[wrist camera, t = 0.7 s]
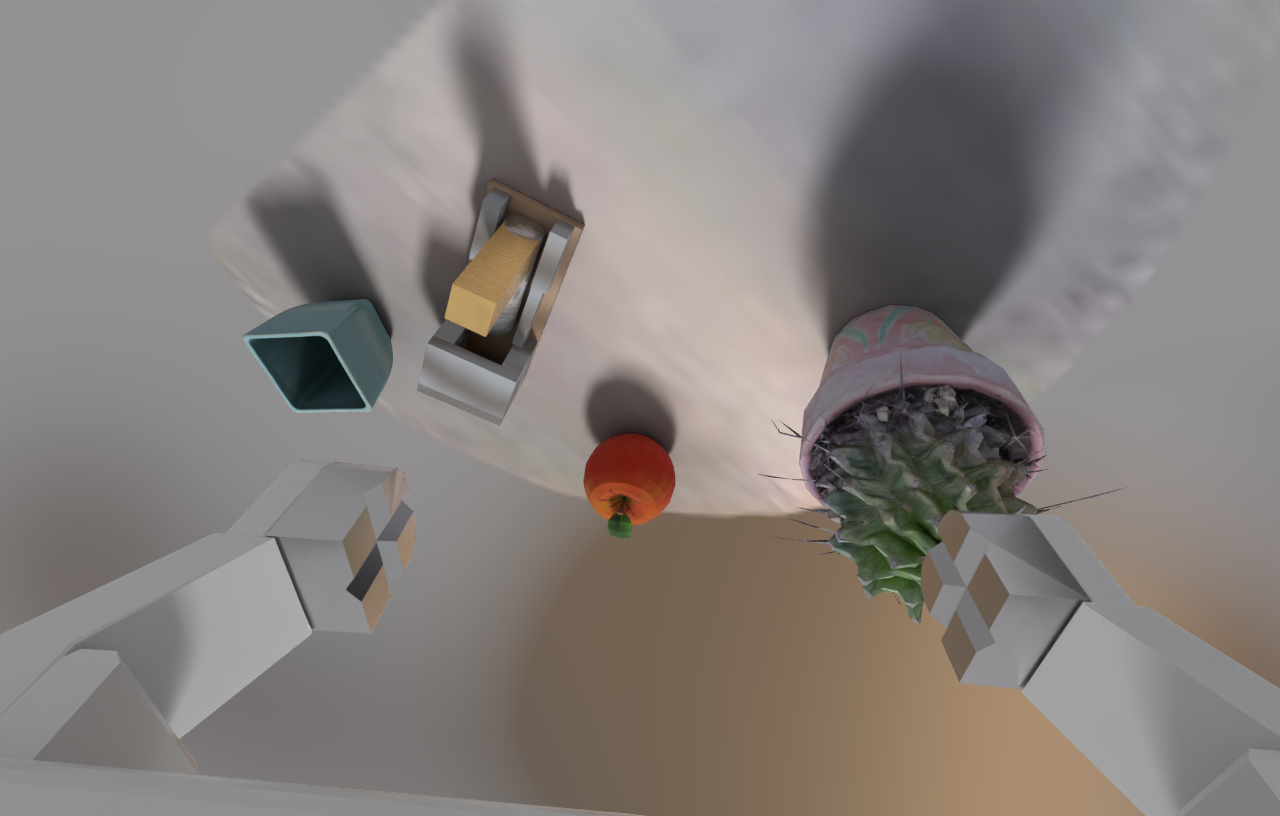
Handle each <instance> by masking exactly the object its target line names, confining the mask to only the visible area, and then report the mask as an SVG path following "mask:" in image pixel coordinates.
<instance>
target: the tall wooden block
mask: <svg viewBox="0 0 1280 816" xmlns="http://www.w3.org/2000/svg"><path fill="white" fill-rule="evenodd" d="M543 238H544V231H543V229H542V227H541V226H540V225H539V224H537V223H536V222H535V221H533V220H531V219H529V218H526V217H523V216H518V215H512V216H508V217H506V218H505V219H504V222H503V224H502V225H501V226H500V227H499V228H498V230H497V231H496V232H495V233H494V234H493V236H492V237H491V238H490V239H489V240H488V242H487V243H486V244H485V245H484V246H483V248H482V249H481V250H480V251H479V252H478V254H477V255H476V256H475V257H474V258H473V260H472V261H471V262H470V263H469V265H468V266H467V267H466V268H465V269H464V271H463V272H462V273H461V274H460V275H459V277H458V278H457V279H456V280H455V281H454V283H453V284H452V288H451V292H450V296H449V301H448V305H447V309H446V313H445V317H444V318H445V319H447V320H449V321H451V322H454V323H456V324H458V325H460V326H462V327H465V328H467V329H469V330H471V331H474V332H476V333H478V334H480V335H482V336H485V337H486V336H487V335H488V333H490V334H493V335H506V334H508V333H509V332H511V330H512V327H513V325H514V322H515V319H516V316H517V313H518V310H519V307H520V304H521V301H522V298H523V296H524V293H525V290H526V287H527V284H528V281H529V278H530V275H531V272H532V270H533V267H534V264H535V261H536V258H537V255H538V252H539V249H540V246H541V243H542V241H543Z"/></svg>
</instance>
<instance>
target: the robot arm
mask: <svg viewBox="0 0 1280 816" xmlns="http://www.w3.org/2000/svg"><path fill="white" fill-rule="evenodd" d="M407 491H408V485H407V482H406V478H405V475H404V472H403V471H401V470H399V469H398V468H392V467H382V466H372V465H362V464H352V463H342V462H326V461H315V460H305V459H301V460H298V461H296V462H293V463H291V464H290V465H289V466H288V467H287V468H286V469H285V470H284V471H283V473H282V474H281V475H280V476H279V477H278V478H277V479H276V480H275V481H274V482H273V483H272V484H271V485H270V486H269V487H268V489H267V490H266V491H265V492H264V493H263V494H262V495H261V496H260V497H259V498H258V499H257V500H256V501H255V502H254V503H253V505H252V506H251V507H250V508H249V509H248V510H247V511H246V512H245V513H244V514H243V515H242V516H241V517H240V518H239V520H238V521H237V522H236V523H235V524H234V525H233V526H232V527H231V528H230V529H229V530H228V531H227V532H226V533H225V534H219V533H214V534H212V535H209V536H207V537H205V538H203V539H201V540H198V541H196V542H194V543H192V544H190V545H188V546H186V547H184V548H182V549H180V550H177V551H175V552H173V553H171V554H169V555H167V556H165V557H163V558H161V559H158V560H156V561H154V562H152V563H150V564H148V565H146V566H144V567H142V568H140V569H137V570H135V571H133V572H131V573H129V574H127V575H125V576H123V577H121V578H118V579H116V580H114V581H112V582H110V583H108V584H106V585H104V586H101V587H99V588H97V589H95V590H93V591H91V592H89V593H87V594H85V595H83V596H81V597H78V598H77V599H74V600H72V601H70V602H68V603H66V604H64V605H62V606H59V607H57V608H55V609H53V610H51V611H49V612H47V613H45V614H42V615H40V616H38V617H36V618H34V619H32V620H30V621H28V622H26V623H23V624H22V625H19V626H17V627H15V628H13V629H11V630H9V631H7V632H5V633H3V634H1V635H0V816H645V815H634V814H623V813H611V812H601V811H589V810H579V809H568V808H557V807H546V806H535V805H523V804H512V803H502V802H491V801H479V800H469V799H458V798H445V797H436V796H425V795H413V794H402V793H391V792H381V791H369V790H358V789H347V788H336V787H325V786H314V785H303V784H292V783H281V782H270V781H259V780H248V779H237V778H226V777H215V776H204V775H199V774H198V769H197V764H196V763H195V761H194V760H193V758H192V757H191V756H190V754H189V753H188V751H187V750H186V748H185V747H184V746H183V744H182V743H181V741H180V740H179V739H180V738H181V737H182V736H184V735H185V734H186V733H187V732H188V731H190V730H191V729H192V728H194V727H195V726H196V725H197V724H199V723H200V722H201V721H202V720H204V719H205V718H206V717H207V716H209V715H210V714H211V713H213V712H214V711H215V710H216V709H217V708H219V707H220V706H221V705H223V704H224V703H225V702H226V701H228V700H229V699H230V698H231V697H233V696H234V695H235V694H236V693H238V692H239V691H240V690H241V689H243V688H244V687H245V686H246V685H248V684H249V683H250V682H251V681H253V680H254V679H255V678H256V677H258V676H259V675H260V674H262V673H263V672H264V671H265V670H267V669H268V668H269V667H270V666H272V665H273V664H274V663H275V662H277V661H278V660H279V659H280V658H282V657H283V656H284V655H285V654H287V653H288V652H289V651H291V650H292V649H293V648H294V647H295V646H297V645H298V644H299V643H301V642H302V641H303V640H304V639H306V638H307V637H308V636H309V635H310V634H312V631H311V630H322V631H340V632H358V633H372V631H373V629H374V627H375V625H376V623H377V621H378V619H379V617H380V615H381V614H382V612H383V610H384V608H385V606H386V604H387V602H388V601H389V598H390V597H391V593H390V589H389V585H388V582H389V581H390V580H392V579H393V578H395V577H397V576H398V575H399V574H401V573H403V572H404V570H405V568H406V566H407V564H408V562H409V560H410V558H411V555H412V551H413V547H414V543H415V539H416V523H415V517H414V513H413V511H412V510H411V509H410V508H409V507H408V506H407V505H406V504H405V503H404V502H403V501H402V499H403V497H404V496H405V494H406V493H407ZM937 530H938V532H939V534H940V536H941V538H942V540H943V541H942V542H941V543H939V544H938V545H936V546H935V547H933V548H932V549H930V550H929V551H928V552H927V554H926V557H925V559H924V562H923V565H922V567H921V589H922V594H923V599H924V602H925V604H926V606H927V609H928V611H929V614H930V615H931V616H933V617H934V618H935V619H936V620H937V621H938V622H940V623H941V624H942V625H943V626H945V627H946V629H945V632H944V634H943V637H942V639H941V642H942V644H943V646H944V648H945V650H946V653H947V655H948V657H949V660H950V662H951V664H952V666H953V669H954V671H955V673H956V676H957V678H958V680H959V682H961V683H970V684H978V685H987V686H997V687H1006V688H1015V689H1023V691H1022V693H1023V694H1024V695H1025V696H1026V697H1027V698H1028V699H1029V700H1030V701H1031V702H1032V703H1033V704H1034V705H1035V706H1036V707H1037V708H1038V709H1039V710H1040V711H1041V712H1042V713H1043V714H1044V715H1045V716H1046V717H1047V718H1048V719H1049V720H1050V721H1051V722H1052V723H1053V724H1054V725H1055V726H1056V727H1057V728H1058V729H1059V730H1060V731H1061V732H1062V733H1063V734H1064V735H1065V736H1066V737H1067V738H1068V739H1069V740H1070V741H1071V742H1072V743H1073V744H1074V745H1075V746H1076V747H1077V748H1078V749H1079V750H1080V751H1081V752H1082V753H1083V754H1084V755H1085V756H1086V757H1087V758H1088V759H1089V760H1090V761H1091V762H1092V763H1093V764H1094V765H1095V766H1096V767H1097V768H1098V769H1099V770H1100V771H1101V772H1102V773H1103V774H1104V775H1105V776H1106V777H1107V778H1108V779H1109V780H1110V781H1111V782H1112V783H1113V784H1114V785H1115V786H1116V787H1117V788H1118V789H1119V790H1120V791H1121V792H1122V793H1123V794H1124V795H1125V796H1126V797H1127V798H1128V799H1129V800H1130V801H1131V802H1132V803H1134V805H1135V806H1136V807H1137V808H1138V809H1139V810H1140V811H1141V812H1142V813H1143V814H1144V815H1145V816H1280V688H1278V687H1276V686H1275V685H1273V684H1271V683H1270V682H1268V681H1267V680H1265V679H1263V678H1262V677H1260V676H1258V675H1257V674H1255V673H1254V672H1252V671H1250V670H1249V669H1247V668H1246V667H1244V666H1242V665H1241V664H1239V663H1238V662H1236V661H1234V660H1233V659H1231V658H1229V657H1228V656H1226V655H1225V654H1223V653H1221V652H1220V651H1218V650H1217V649H1215V648H1213V647H1212V646H1210V645H1208V644H1207V643H1205V642H1204V641H1202V640H1200V639H1199V638H1197V637H1195V636H1194V635H1192V634H1190V633H1189V632H1187V631H1186V630H1184V629H1183V628H1181V627H1179V626H1178V625H1176V624H1175V623H1173V622H1171V621H1170V620H1168V619H1167V618H1165V617H1163V616H1161V615H1160V614H1158V613H1157V612H1155V611H1153V610H1152V609H1150V608H1149V607H1141V606H1136V605H1135V604H1134V603H1133V602H1132V600H1131V599H1130V598H1129V597H1128V595H1127V594H1126V593H1125V592H1124V590H1123V589H1122V588H1121V587H1120V586H1119V584H1118V583H1117V582H1116V581H1115V580H1114V578H1113V577H1112V576H1111V574H1110V573H1109V572H1108V571H1107V570H1106V568H1105V567H1104V566H1103V565H1102V563H1101V562H1100V561H1099V560H1098V558H1097V557H1096V556H1095V555H1094V554H1093V552H1092V551H1091V550H1090V549H1089V547H1088V546H1087V545H1086V544H1085V542H1084V541H1083V540H1082V539H1081V538H1080V536H1079V535H1078V534H1077V532H1076V531H1075V530H1074V529H1073V528H1072V527H1071V525H1070V524H1069V523H1068V522H1067V521H1065V520H1063V519H1062V518H1060V517H1058V516H1049V515H1031V514H1020V515H1016V514H1003V513H989V512H974V511H960V510H950V511H949V512H948V513H946V514H945V515H944V516H943V518H942V520H941V522H940V524H939V526H938V529H937Z"/></svg>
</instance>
